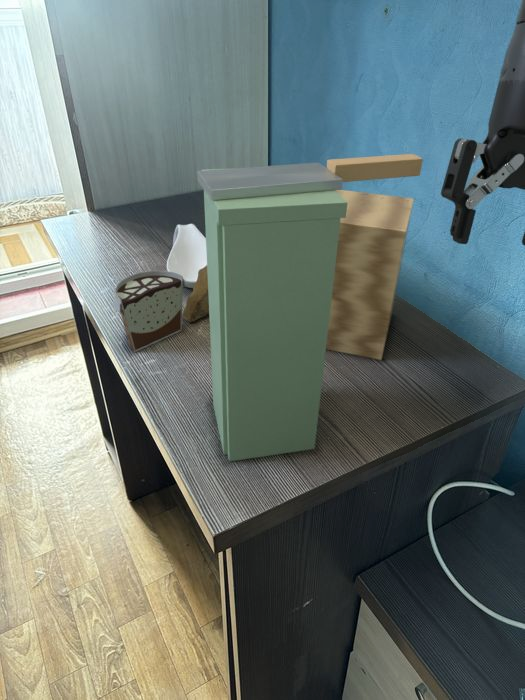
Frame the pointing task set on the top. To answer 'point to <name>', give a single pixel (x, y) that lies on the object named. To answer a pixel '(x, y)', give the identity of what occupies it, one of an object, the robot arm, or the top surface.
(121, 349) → the top surface
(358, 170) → the knife
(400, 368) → the top surface
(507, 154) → the robot arm
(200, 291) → the rock
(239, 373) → the tall green cabinet
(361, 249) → the block
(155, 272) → the mint chocolate cake slice
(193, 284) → the spoon rest
